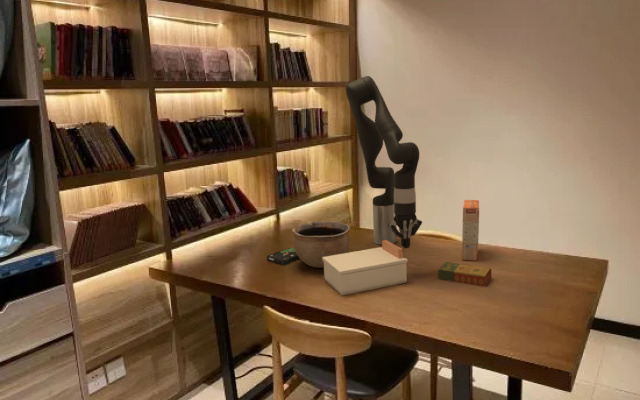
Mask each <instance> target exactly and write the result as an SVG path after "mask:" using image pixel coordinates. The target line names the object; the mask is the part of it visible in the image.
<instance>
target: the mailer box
mask: <svg viewBox="0 0 640 400" xmlns="http://www.w3.org/2000/svg"><path fill="white" fill-rule="evenodd" d="M323 273H324V274H323V275H324V280H325V282H327V283H328V284H329V285H330V286H331V287H332V288H333V289H334V290H336V291H337V292H338V293H339V294H340V295H341V296H345V295H346V296H347V295H351V294H356V293H361V292H366V291H371V290H376V289H377V290H378V289H381V288H385V287H390V286H396V285H400V284H406V283H407V281H408V280H407V278H408V277H407V262H406V263H400V264H395V265H390V266H384V267H379V268H373V269H368V270H363V271H357V272H352V273H346V274H341V275H340V274H339V273H337V272H336V271H335V270H334V269H333V268H331V267H330V266H329V265H328V264H327V263H326V262H324V267H323Z"/></svg>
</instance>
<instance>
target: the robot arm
mask: <svg viewBox="0 0 640 400" xmlns="http://www.w3.org/2000/svg"><path fill="white" fill-rule="evenodd" d="M345 95H346V98H347V100H348V104H349V107H350V110H351V113H352V116H353V118H354V119H353V120H354V123H355V128H356V130H357V136H358V140H359V144H360V148H361V151H362V155H363V158H364V162H365V163H364V164H365V170H366V176H367V182H368V184H369V186H370V188H371V189H382V190H384V193H382V194H379V195H376V196H374V197H373V198H372V216H373V217H372V219H373V220H372V221H373V223H372V224H373V242H374V244H376V245H378V246H379V245H380V246H382V241H383V240H387V241H389V242H391V243H393V244H396V243H397V242H398V238H400V245H401V247H402V249H409V248H410V246H411V237H412V236H413V237H414V236H415V235H416V234H417V232H418V231H419V228H420V227H421V225H422V223H423V221H422V220H420V219H418V217H417V214H416V213H417V204H416V203H417V195H416V194H417V193H416V182H415V181H416V179H415V178H416V177H415V176H416V173H417V172H416V171H417V168H418V164H419V162H420V149H419V147H418V145H417V144H416V143H415V142H412V141H411V142H401V140H402V139H403V136H404V135H403V131H402V129H401V128H400V126H399V125H398V124H397V122H396V121H395V119H394V117H393V116H392V115H391V112H390V110H389V108H388V106H387V104H386V102H385V99H384V97H383V96H382V93H381V91H380V89H379V87H378V85H377V83H376V82H375V80H374V79H373V78H372V77H371V76H370V75H365V76H363V77H360V78H357V79H356V80H353V81H351V82H349V83H347V84H346V85H345ZM371 101H373V102H374V104H375V116H374V120H372V119H371V118H370V117H368V116H367V115H366V114H365V112H363V110H362V106H363V105H365V104H368V103H369V102H371ZM400 142H401V143H400ZM383 146H385V148H386V153H387V157H388V159H389V161H391V163H393V164H395V165H402V166H401V168H400V169H399V170H397V171H396V172H395V171H394V170H395V169H394V168H393V167H391V166H377V165H376V160H377V159H378V156H379V154H380V153H381V151H382V149H383ZM397 228H398V229H397Z"/></svg>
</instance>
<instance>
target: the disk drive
mask: <svg viewBox="0 0 640 400" xmlns="http://www.w3.org/2000/svg"><path fill="white" fill-rule="evenodd" d="M299 259H300V258H299V257H298V255H297V253H296V252H295V249H294V246H292V247H288V248H286V249H283V250H279V251H277V252H275V253H271V254H268V255H267V256H266V261H267V262H271V263H272V264H277V265H279V264H280V266H282V265H284V266H287V265H289V263H290V264H292V263H295V262H297V261H296V260H298V261H300V260H301V259H300V260H299ZM294 261H295V262H294ZM291 262H292V263H291ZM286 264H287V265H286Z"/></svg>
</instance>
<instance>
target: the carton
mask: <svg viewBox="0 0 640 400" xmlns="http://www.w3.org/2000/svg"><path fill="white" fill-rule="evenodd" d="M437 277H438V278H437V279H438V280H441V281H448V282H456V283H460V284H461V283H462V284H466V285H473V286H477V287H478V286H479V287H486V286H487V285H488V284H489V282H490V281H491V279H492V267H485V266H479V265H472V264H471V265H470V264H463V263H462V264H461V263H455V262H448V261H445V262H444V263H443V264H442V265H441V266H440V267H439V268H438V270H437Z"/></svg>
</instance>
